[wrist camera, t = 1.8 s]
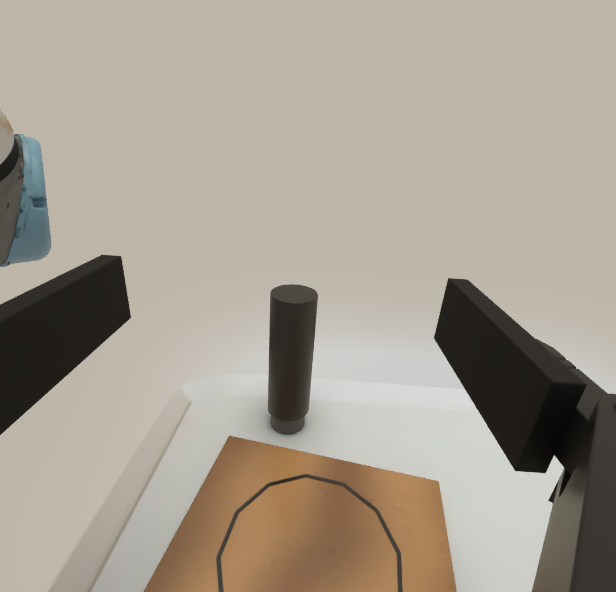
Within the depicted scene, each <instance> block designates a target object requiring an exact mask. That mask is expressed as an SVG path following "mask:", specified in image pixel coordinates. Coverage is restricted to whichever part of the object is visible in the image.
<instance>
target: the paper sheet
mask: <svg viewBox="0 0 616 592" xmlns="http://www.w3.org/2000/svg"><path fill="white" fill-rule="evenodd" d="M144 592H456V586H455V580H454V573H453V567H452V561H451V555H450V549H449V543H448V536H447V530H446V524H445V518H444V512H443V506H442V500H441V493H440V487H439V482H438V481H434V480H430V479H425V478H420V477H416V476H411V475H407V474H402V473H398V472H393V471H388V470H384V469H379V468H375V467H370V466H365V465H361V464H356V463H352V462H347V461H343V460H338V459H333V458H329V457H324V456H320V455H315V454H310V453H306V452H301V451H297V450H292V449H287V448H283V447H278V446H274V445H269V444H265V443H260V442H255V441H251V440H246V439H242V438H237V437H232V436H229V437H228V439H227V441H226V443H225V445H224V447H223V448H222V450H221V452H220V454H219V456H218V457H217V459H216V461H215V463H214V465H213V467H212V468H211V470H210V472H209V474H208V476H207V477H206V479H205V481H204V483H203V485H202V487H201V488H200V490H199V492H198V494H197V496H196V498H195V499H194V501H193V503H192V505H191V507H190V508H189V510H188V512H187V514H186V516H185V518H184V519H183V521H182V523H181V525H180V527H179V528H178V530H177V532H176V534H175V536H174V538H173V539H172V541H171V543H170V545H169V547H168V549H167V550H166V552H165V554H164V556H163V558H162V559H161V561H160V563H159V565H158V567H157V569H156V570H155V572H154V574H153V576H152V578H151V579H150V581H149V583H148V585H147V587H146V589H145V590H144Z"/></svg>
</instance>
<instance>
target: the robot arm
mask: <svg viewBox="0 0 616 592" xmlns="http://www.w3.org/2000/svg"><path fill="white" fill-rule="evenodd" d="M46 200H47V199H46V191H45V180H44V171H43V162H42V154H41V147H40V144H39V142H38V141H37V140H35V139H34V138H31V137H26V136H24V135H22V134H15V135H14V133H13V129H12V127H11V125H10V123H9V121H8V120H7V118H6V116H5V115H4V114H3V113H2V112H1V111H0V267H5V266H8V265H10V264H14V263H21V262H29V261H36V260H39V259H42V258H44V257H45V256H46V255H47V254H48V253H49V251H50V249H51V236H50V226H49V217H48V209H47V201H46ZM130 318H131V315H130V309H129V302H128V296H127V290H126V284H125V277H124V271H123V265H122V260H121V256H109V255H101V256H99V257H97V258H95V259H93V260H91V261H89V262H87V263H85V264H83V265H80V266H78V267H76V268H74V269H72V270H70V271H68V272H66V273H64V274H62V275H60V276H58V277H56V278H54V279H52V280H50V281H48V282H46V283H44V284H42V285H40V286H37V287H35V288H34V289H31V290H29V291H27V292H25V293H23V294H21V295H19V296H17V297H15V298H13V299H11V300H9V301H7V302H5V303H3V304H1V305H0V435H1V434H2V433H3V432H4V431H5V430H6V429H7V428H9V427H10V426H11V425H12V424H13V423H14V422H15V421H16V420H17V419H19V418H20V417H21V416H22V415H23V414H24V413H25V412H26V411H27V410H28V409H30V408H31V407H32V406H33V405H34V404H35V403H36V402H37V401H39V400H40V399H41V398H42V397H43V396H44V395H45V394H46V393H48V392H49V391H50V390H51V389H52V388H53V387H54V386H55V385H56V384H58V383H59V382H60V381H61V380H62V379H63V378H64V377H65V376H66V375H68V374H69V373H70V372H71V371H72V370H73V369H74V368H75V367H76V366H77V365H79V364H80V363H81V362H82V361H83V360H84V359H85V358H87V357H88V356H89V355H90V354H91V353H92V352H93V351H94V350H95V349H96V348H98V347H99V346H100V345H101V344H102V343H103V342H104V341H105V340H106V339H108V338H109V337H110V336H111V335H112V334H113V333H114V332H115V331H117V330H118V329H119V328H120V327H121V326H122V325H123V324H124V323H126V321H128V320H129V319H130ZM434 339H435V341H436V342H437V344H438V345H439V347H440V349H441V350H442V352H443V354H444V355H445V357H446V358H447V360H448V362H449V363H450V365H451V367H452V368H453V370H454V372H455V373H456V375H457V377H458V378H459V379H460V381H461V383H462V385H463V386H464V388H465V390H466V391H467V393H468V395H469V396H470V398H471V399H472V401H473V403H474V404H475V406H476V408H477V409H478V411H479V412H480V414H481V416H482V417H483V419H484V421H485V422H486V424H487V426H488V427H489V429H490V430H491V432H492V434H493V435H494V437H495V439H496V440H497V442H498V444H499V445H500V447H501V448H502V450H503V452H504V453H505V455H506V457H507V458H508V460H509V461H510V463H511V465H512V466H513V468H514V470H515V471H523V472H538V473H546V471H547V469H548V467H549V464H550V462H551V460H552V458H553V456H554V455H555V456H556V458H557V459H558V460H559V461H560V463H561V464H562V465H563V467H564V470H563V472H562V474H561V476H560V478H559V480H558V482H557V484H556V486H555V488H554V490H553V492H552V494H551V496H550V498H549V500H548V501H550V502H552V503H553V507H552V511H551V515H550V519H549V523H548V527H547V531H546V536H545V540H544V544H543V548H542V552H541V556H540V560H539V565H538V569H537V573H536V577H535V581H534V585H533V589H532V592H616V394H607V393H606V392H605V391H604V390H603V389H602V388H600V387H599V386H598V385H597V384H596V383H594V382H593V381H592V380H591V379H590V378H588V377H587V376H586V375H585V374H584V373H583V372H581V371H580V370H579V369H576V367H575V366H574V365H573V364H572V363H571V362H569V361H568V360H566V358H565V357H564V356H562V355H561V354H560V353H559V352H558V351H556V350H555V349H554V348H553V347H551V346H549V345H547V344H545V343H543V342H541V341H539V340H538V339H535V338H533V337H532V336H531V335H530V334H529V333H528V332H527V331H525V330H524V329H523V328H522V327H521V326H520V325H519V324H518V323H516V322H515V321H514V320H513V319H512V318H511V317H509V316H508V315H507V314H506V313H505V312H504V311H503V310H502V309H500V308H499V307H498V306H497V305H496V304H495V303H493V302H492V301H491V300H490V299H489V298H488V297H487V296H485V295H484V294H483V293H482V292H481V291H480V290H479V289H478V288H476V287H475V286H474V285H473V284H472V283H471V282H470V281H468V280H464V279H451V278H449V279H448V282H447V286H446V290H445V294H444V298H443V303H442V307H441V311H440V315H439V319H438V324H437V328H436V333H435V336H434Z"/></svg>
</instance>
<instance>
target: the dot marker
mask: <svg viewBox="0 0 616 592" xmlns="http://www.w3.org/2000/svg"><path fill="white" fill-rule="evenodd" d="M270 295H271V296H270V339H269V341H270V343H269V344H270V345H269V384H268V410H269V412H270V414H271V424H272V426H273V428H274V429H275V430H276V431H278V432H280V433H284V434H292V433H295V432H297V431H299V430H300V429H301V428H302V427H303V425H304V416H305V415H306V414H307V412H308V409H309V397H310V385H311V372H312V361H313V349H314V337H315V324H316V313H317V300H318V294H317V292H316V291H315V290H314V289H312V288H309V287H306V286H302V285H282V286H278V287H276V288H274V289H272V291H271V294H270Z"/></svg>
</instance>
